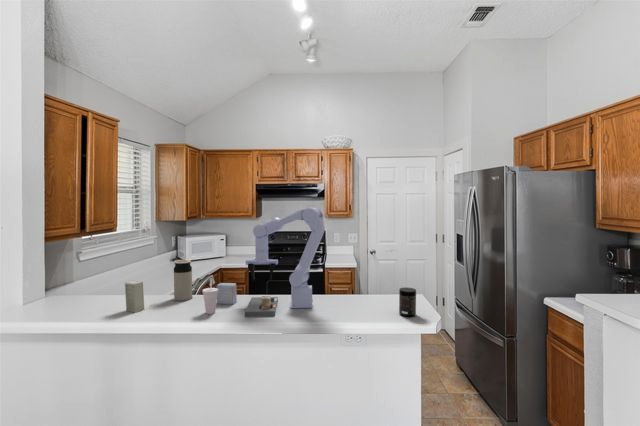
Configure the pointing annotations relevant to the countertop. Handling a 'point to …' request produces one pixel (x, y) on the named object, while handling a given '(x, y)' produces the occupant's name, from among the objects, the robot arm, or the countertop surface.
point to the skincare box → (134, 296)
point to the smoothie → (210, 298)
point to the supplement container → (407, 302)
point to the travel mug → (182, 280)
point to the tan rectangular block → (266, 302)
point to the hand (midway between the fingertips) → (262, 280)
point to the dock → (255, 307)
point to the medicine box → (226, 293)
